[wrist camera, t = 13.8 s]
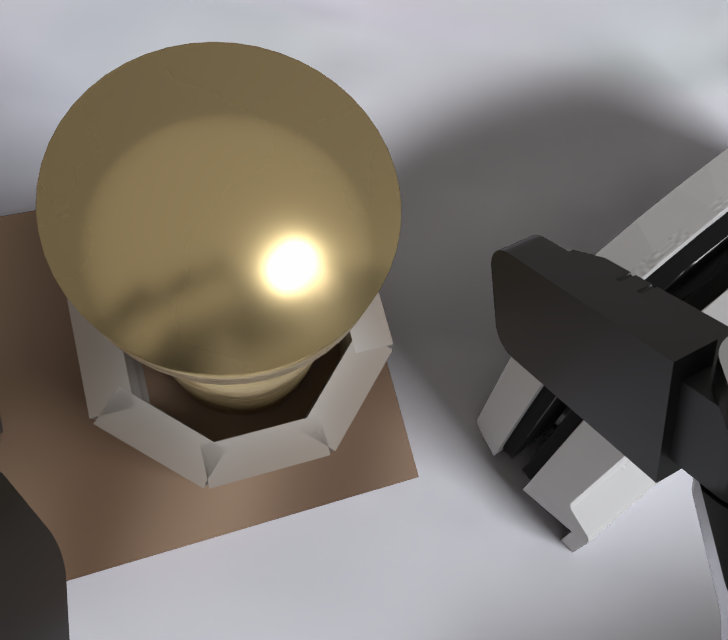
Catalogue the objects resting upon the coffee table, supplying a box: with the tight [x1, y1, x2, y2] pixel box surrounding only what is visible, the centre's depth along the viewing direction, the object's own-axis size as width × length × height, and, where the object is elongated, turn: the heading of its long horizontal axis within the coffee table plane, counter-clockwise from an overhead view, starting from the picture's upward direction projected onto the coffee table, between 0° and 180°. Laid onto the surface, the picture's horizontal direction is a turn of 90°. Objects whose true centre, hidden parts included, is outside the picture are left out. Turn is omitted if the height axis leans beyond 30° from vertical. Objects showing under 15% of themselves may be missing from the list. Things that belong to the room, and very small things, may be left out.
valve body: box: [36, 42, 401, 415], centre depth 13 cm, size 5×5×10 cm
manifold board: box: [0, 210, 419, 581], centre depth 16 cm, size 17×10×4 cm, turn 105°
